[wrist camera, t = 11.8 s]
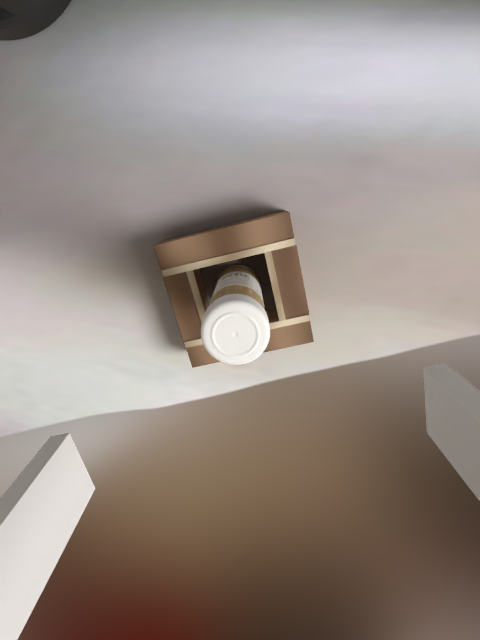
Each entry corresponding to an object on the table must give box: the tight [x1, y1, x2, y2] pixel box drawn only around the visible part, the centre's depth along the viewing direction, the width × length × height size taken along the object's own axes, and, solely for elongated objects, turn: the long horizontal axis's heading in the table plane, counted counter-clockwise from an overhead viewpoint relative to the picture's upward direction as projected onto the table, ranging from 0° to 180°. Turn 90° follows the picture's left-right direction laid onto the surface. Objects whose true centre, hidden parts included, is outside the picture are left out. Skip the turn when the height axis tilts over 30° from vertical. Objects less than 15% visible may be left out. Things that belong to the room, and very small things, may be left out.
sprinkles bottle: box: [201, 265, 270, 365], centre depth 29 cm, size 5×5×14 cm
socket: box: [154, 210, 314, 367], centre depth 33 cm, size 12×12×4 cm
